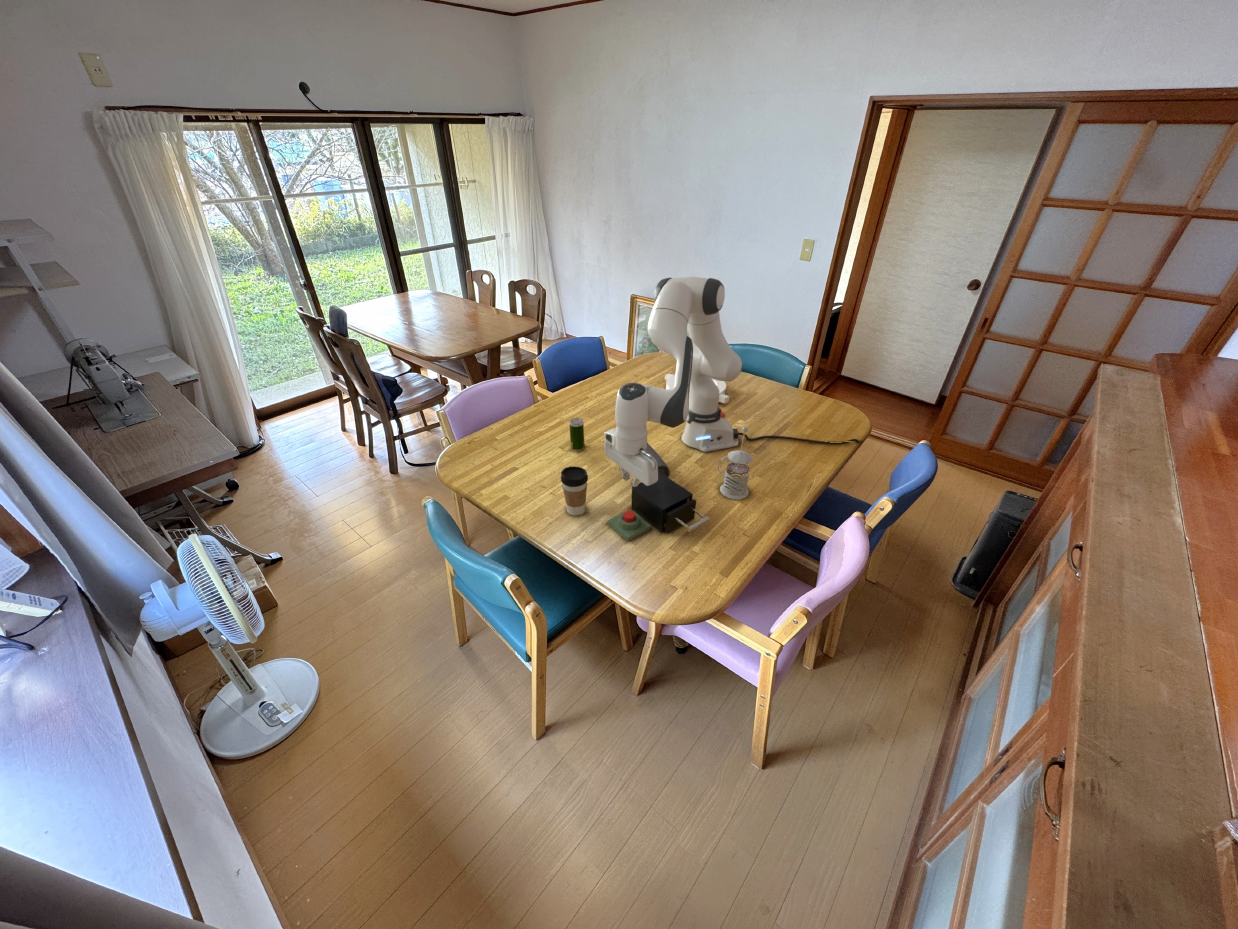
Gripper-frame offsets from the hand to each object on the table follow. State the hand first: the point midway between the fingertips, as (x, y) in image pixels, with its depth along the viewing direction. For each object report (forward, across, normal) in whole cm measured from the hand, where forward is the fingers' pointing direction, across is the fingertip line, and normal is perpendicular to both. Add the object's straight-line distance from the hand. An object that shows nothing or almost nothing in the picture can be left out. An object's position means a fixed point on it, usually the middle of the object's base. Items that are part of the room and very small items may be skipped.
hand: (630, 482), depth 141 cm
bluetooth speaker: (+17, +20, -23) cm, 35 cm away
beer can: (+17, +48, -13) cm, 53 cm away
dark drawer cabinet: (+17, -1, -12) cm, 21 cm away
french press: (+17, -7, -40) cm, 44 cm away
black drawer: (+16, -7, -12) cm, 22 cm away
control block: (+17, 0, 0) cm, 17 cm away
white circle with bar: (+17, +56, -86) cm, 104 cm away
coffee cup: (+17, +17, +9) cm, 26 cm away
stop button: (+14, 0, 0) cm, 14 cm away
